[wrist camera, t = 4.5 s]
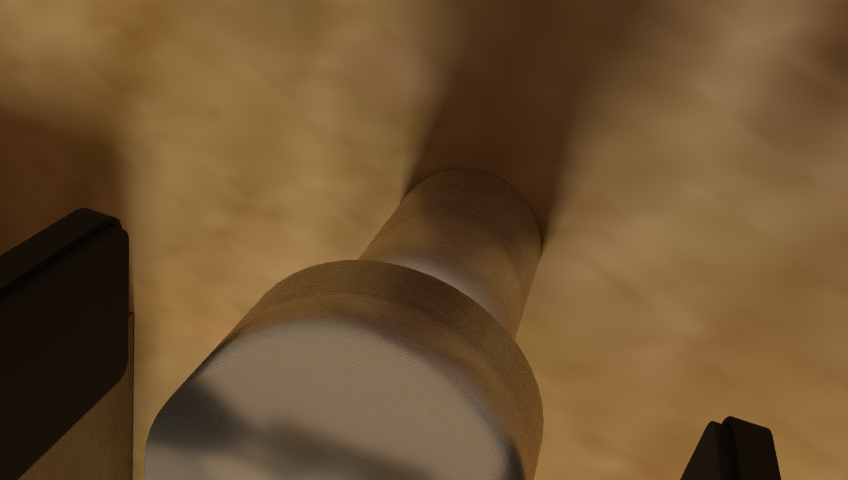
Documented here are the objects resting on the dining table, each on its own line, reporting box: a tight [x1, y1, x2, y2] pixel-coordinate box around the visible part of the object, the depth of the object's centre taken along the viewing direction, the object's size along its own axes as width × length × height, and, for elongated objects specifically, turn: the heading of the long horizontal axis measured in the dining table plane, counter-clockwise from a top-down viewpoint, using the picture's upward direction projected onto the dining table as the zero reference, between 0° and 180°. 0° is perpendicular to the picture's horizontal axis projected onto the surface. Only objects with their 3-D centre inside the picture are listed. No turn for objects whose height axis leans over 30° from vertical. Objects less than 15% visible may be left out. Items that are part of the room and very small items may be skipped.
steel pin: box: [144, 169, 544, 480], centre depth 13 cm, size 5×5×8 cm
